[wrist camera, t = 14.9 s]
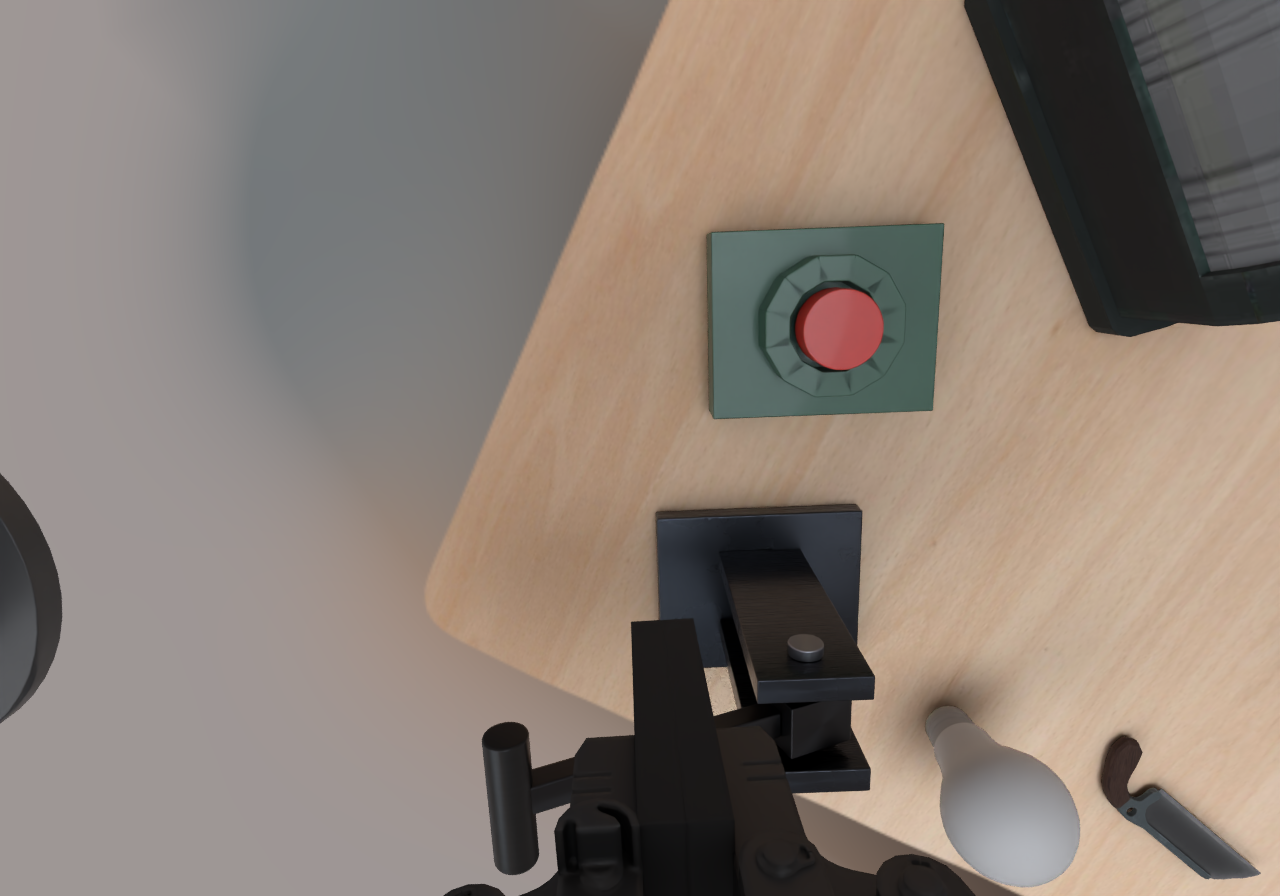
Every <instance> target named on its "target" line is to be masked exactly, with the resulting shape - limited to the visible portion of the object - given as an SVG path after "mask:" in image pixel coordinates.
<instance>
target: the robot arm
mask: <svg viewBox="0 0 1280 896" xmlns="http://www.w3.org/2000/svg"><path fill="white" fill-rule="evenodd" d="M631 634H632V666H633V699H634V731H635V735H629V736H614V737H597V738H586V740H585V741H584V743H583V744H582V746H581V747H580V749H579V750H578V752H577V753H576V755H575V759H574V770H573V781H572V794H571V803H570V808H569V809H568V810H567V811H566V812H565V813H564V814H563V815H562V816H561V817H560V818H559V820H558V822H557V825H556V828H555V831H554V833H555V843H556V854H557V865H558V871H557V873H556V874H555V875H554V876H553V877H552V878H551V879H550V880H549V881H547V882H546V883H545V884H543V885H542V886H540V887H539V888H537V889H534V890H532V891H530V892H528V893H525V894H522V895H520V896H975V894H974V893H973V892H972V891H971V890H970V889H969V887H968V886H967V885H966V884H965V883H964V882H963V881H962V879H961V878H960V877H959V876H958V875H956V874H955V873H954V872H953V871H952V870H951V869H949V868H948V867H947V866H946V865H944V864H942V863H940V862H937V861H935V860H933V859H931V858H929V857H924V856H918V855H914V854H909V855H898V856H895V857H893V858H891V859H889V860H887V861H885V862H883V864H882V866H881V867H880V868H879V870H878V871H877V875H874V874H869V873H864V872H859V871H854V870H850V869H847V868H844V867H841V866H838V865H836V864H834V863H832V862H830V861H828V860H827V859H825V858H824V857H823V856H821V855H820V854H819V852H818V850H817V849H816V847H815V845H814V844H812V843H811V842H810V841H808V839H807V837H806V835H805V833H804V829H803V826H802V823H801V820H800V817H799V814H798V811H797V807H796V804H795V801H794V798H793V795H792V792H791V789H790V786H789V783H788V780H787V779H786V773H785V770H784V767H783V764H782V763H781V758H780V755H779V752H778V749H777V746H776V742H775V741H774V740H773V739H772V738H771V737H770V736H769V735H768V734H767V733H766V732H765V731H764V730H763V729H762V728H761V727H760V726H748V727H732V728H716V726H715V721H714V717H713V712H712V707H711V702H710V697H709V692H708V687H707V683H706V678H705V673H704V668H703V663H702V658H701V653H700V648H699V644H698V639H697V634H696V629H695V624H694V619H693V618H688V619H671V620H654V621H636V622H631ZM444 896H505V895H504V894H503V893H502V892H501V891H500V890H499V889H497V888H495V887H492V886H489V885H486V884H468V885H465V886H462V887H459V888H456V889H453V890H451V891H450V892H448V893H447V894H445V895H444Z"/></svg>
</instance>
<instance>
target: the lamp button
mask: <svg viewBox="0 0 1280 896" xmlns="http://www.w3.org/2000/svg"><path fill="white" fill-rule="evenodd" d="M883 331H884V322H883V317H882V313H881V311H880V309H879V307H878V305H877V304H876V303H875V301H874V300H873V299H872V298H871V297H870V296H868V295H867V294H865V293H863V292H861V291H858V290H855V289H848V288H840V287H833V288H827V289H823V290H821V291H819V292H817V293H815V294H814V295H812V296H811V297H810V298H809V299H807V300H806V302H805V303H804V304H803V305H802V307H801V309H800V311H799V313H798V315H797V318H796V323H795V335H796V339H797V342H798V345H799V347H800V348H801V350H802V351H803V353H804V354H805V355H806V356H807V357H809V358H810V359H811V360H813V361H815V362H816V363H818V364H820V365H822V366H824V367H826V368H829V369H833V370H848V369H852V368H855V367H858V366H860V365H861V364H863V363H865V362H866V361H867V360H868V359H870V358H871V357H872V355H873V354H874V353H875V352H876V350H877V349H878V347H879V345H880V343H881V340H882V336H883Z"/></svg>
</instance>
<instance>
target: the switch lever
mask: <svg viewBox="0 0 1280 896" xmlns="http://www.w3.org/2000/svg"><path fill="white" fill-rule="evenodd" d="M851 705H852V700H848V701H822V702H796V703H770V704H754V705H751V706H747V707H744V708H740V709H737V710H734V711H730V712H727V713H723V714H720V715H716V716H713V717H714V721H715V726H716V728H732V727H748V726H760V727H761V728H762V729H763V730H764V731H765V732H766V733H767V734H768V735H769V736H770V737H771V738H772V739H773V740H774V741H775V742H776V744H777V745H778V746H779V747H780V748H781V749H782V750H783V751H784V752H785V753H786V754H787V755H788V756H789V757H790V758H791V759H794V758H797V757H800V756H803V755H806V754H809V753H812V752H815V751H819V750H822V749H825V748H828V747H831V746H834V745H837V744H840V743H843V742H846V741H849V740H850V732H851ZM482 747H483V757H484V766H485V776H486V786H487V794H488V805H489V813H490V824H491V834H492V844H493V853H494V862H495V866H496V867H497V869H498V870H499V871H500V872H502V873H504V874H508V875H517V874H521V873H524V872H526V871H528V870H530V869H531V868H532V867H533V866H534V865H535V864H536V862H537V860H538V857H539V848H538V837H537V824H536V813H540V812H543V811H546V810H549V809H553V808H556V807H559V806H562V805H565V804H568V803H571V794H572V781H573V770H574V759H575V757H573V758H569V759H566V760H562V761H559V762H556V763H552V764H549V765H545V766H542V767H538V768H535V769H532V766H531V754H530V742H529V732H528V730H527V728H526V727H525V726H524V725H522V724H520V723H516V722H504V723H500V724H497V725H494V726H493V727H491V728H489V729H488V730H487V731H486V732H485V733H484V735H483V738H482Z"/></svg>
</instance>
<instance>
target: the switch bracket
mask: <svg viewBox="0 0 1280 896" xmlns="http://www.w3.org/2000/svg"><path fill="white" fill-rule="evenodd" d="M861 534H862V510H861V509H860V508H859V507H858V506H857V505H856V504H848V505H822V506H796V507H770V508H744V509H718V510H692V511H666V512H656V536H657V565H658V595H659V620H671V619H688V618H693V619H694V624H695V629H696V634H697V639H698V644H699V648H700V653H701V658H702V663H703V668H711V667H727V668H728V672H729V676H730V681H731V685H732V689H733V693H734V698H735V702H736V706H737V709H740V708H744V707H747V706H751V705H754V704H770V703H796V702H822V701H848V700H873V699H874V689H875V676H874V674H873V672H872V670H871V669H870V667H869V665H868V664H867V662H866V660H865V659H864V657H863V655H862V653H861V652H860V650H859V648H858V647H857V636H858V611H859V585H860V560H861ZM776 746H777V749H778V752H779V755H780V758H781V763H782V764H783V767H784V770H785V773H786V779H787V780H788V783H789V786H790V789H791V792H792V793H816V792H841V791H867V790H870V774H871V769H870V767H869V764H868V762H867V760H866V758H865V756H864V754H863V752H862V750H861V747H860V745H859V743H858V741H857V739H856V737H855V735H854V733H853V730H852V728H851V732H850V740H849V741H846V742H843V743H840V744H837V745H834V746H831V747H828V748H825V749H822V750H819V751H815V752H812V753H809V754H806V755H803V756H800V757H797V758H794V759H791V758H790V757H789V756H788V755H787V754H786V753H785V752H784V751H783V750H782V749H781V748H780V747H779V746H778V745H777V744H776Z"/></svg>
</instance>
